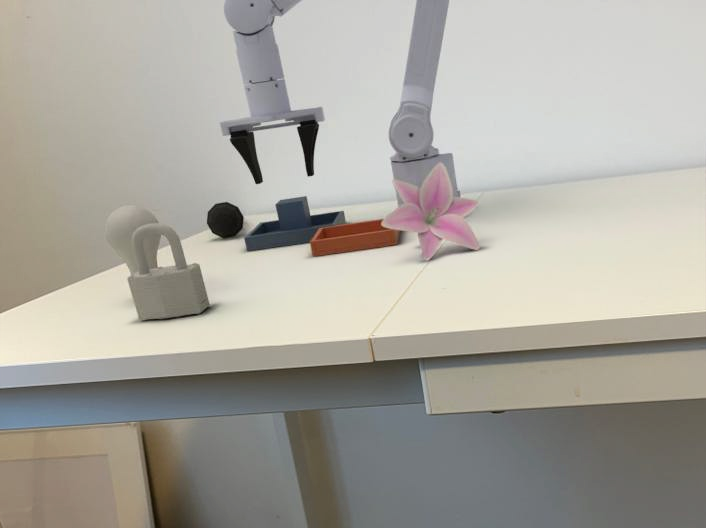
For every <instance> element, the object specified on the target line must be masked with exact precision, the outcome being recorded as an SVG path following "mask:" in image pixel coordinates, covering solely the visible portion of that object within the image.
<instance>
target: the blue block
mask: <svg viewBox="0 0 706 528" xmlns="http://www.w3.org/2000/svg"><path fill="white" fill-rule="evenodd" d="M308 201H309V200H308V197H307V195H303V196H298V197H292V198H285V199H279V200H278V201H277V202H276V203H275V204H274V205H275V210H276V214H277V218H278V219H277V220H279V224H280V228H281V232H282V231H289V230H296V229H303V228H310V227H313V225H312V220H311V216H310V215H311V211H310V206H309V202H308Z"/></svg>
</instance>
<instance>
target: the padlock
mask: <svg viewBox="0 0 706 528" xmlns="http://www.w3.org/2000/svg"><path fill="white" fill-rule="evenodd" d="M150 234H161V236H164V237H165V238H166V239H167V242H168V244H169V245H170V250H171V253H172V257H173V261H174V264H175V265H168V266H158V268H155V269H149V266H148V263H147V259H146V256H145V252H144V249H143V238H144V237H145V236H147V235H150ZM131 244H132V250H133V254H134V257H135V260H136V264H137V267H138V272H136V273H134V274H133V275H131V274H130V275H129V276H127V283H128V286H129V290H130V293H131V297H132V300H133V304H134V307H135V311H136V315H137V316H138V317H137V318H138V320H140V321H146V320H157V319H158V320H164V319H169V318H170V319H171V318H181V317H182V316H189V315H194V314H195V315H200V314H201V313H203V311H204V310H206V309H207V308H208V307H209V306H210V305H211V304H210V300H209V296H208V292H207V288H206V284H205V280H204V276H203V272H202V269H201V265H200V263H196V262H193V263H192V264H191V263H190V264H187V260H186V256H185V252H184V248H183V245H182V242H181V239H180V238H179V235H178V233H177V232H176V230H174V229H173V228H172V227H171V226H169V225H167V224H165V223H160V222H159V223H152V224H146V225H143V226H141V227H139V228H137V229H136V231H135V232H134V233H133V235H132V239H131Z"/></svg>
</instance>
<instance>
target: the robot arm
mask: <svg viewBox="0 0 706 528" xmlns="http://www.w3.org/2000/svg"><path fill="white" fill-rule="evenodd" d="M302 1H303V0H224V6H223V14H224V17H225V20H226V22H227V23H228V25H229V26H230V27H231V28H232V29H233V31H232V34H233V41H234V44H235V47H236V51H235V53H236V56H237V60H238V66H239V70H240V74H241V79H242V83H243V87H244V93H245V96H246V100H247V105H248V109H249V113H250V116H249V117H248V116H247V117H242V118H236V119H235V118H234V119H229V120H222V121H220V122H219V125H220V126H219V127H220V129H221V130H220V131H221V134H222V137H227V136H230V138H229V141H230V143H231V146H233V148H234V149H235V150H236V151H237V152H238V154H239V155H240V157H241V158H242V159H243V161H244V163H245V165H246V166H247V168H248V170H249V172H250V174H251V176H252V178H253V180H254V181H253V182H254V184H255V185H260V184H262V183H264V180H263V174H262V170H261V167H260V163H259V159H258V154H257V148H256V142H255V134H254V132H257V131H263V130H272V129H277V128H285V127H291V126H296V129H297V133H298V137H299V142H300V144H301V149H302V152H303V158H304V165H305V171H306V175H307V177H313V176H315V150H316V143H317V138H318V133H319V129H320V124H319V123H321V122H325V121H326V119H325V113H324V108H323V106H319V107H318V106H316V107H309V108H302V109H295V110H292V108H291V104H290V99H289V94H288V89H287V85H286V79H285V73H284V70H283V64H282V60H281V56H280V50H279V45H278V44H277V42H276V36H275V31H274V28H273V26H274V23H275V19H276V17H280V18H281V17H283V16H284V15H285V14H287V13H288V12H289V11H291V10H292V9H293V8H294V7H295V6H297V5H299V3H301V2H302ZM449 4H450V0H416V3H415V8H414V16H413V22H412V28H411V34H410V39H409V40H410V41H409V46H408V52H407V59H406V65H405V72H404V78H403V84H402V91H401V97H400V102H399V107H398V110H397V112H396V113H395V114H394V116H393V117H392V119H391V121H390V124H389V128H388V141H389V143H390V145H391V147H392V149H393V150H394V151H395V153H394V154H393V155H392V156H390V157H389V159H390V165H391V172H392V177H393V180H400V181H403V182H406V183H409V184H412V185H414V186H416V187H418V188H420V189H421V186H422V184H423V182H424V181H425V179H426V178H427V176H428V175H429V173H430V172H431V170H432V169H433V168H434V167H435V166H436V165H437V164H438V163H443V164H444V166H445V167H446V169H447V172H448V175H449V178H450V181H451V185H452V189H453V197H461V198H462V195H461V190H458V185H457V184H458V183H457V176H456V170H455V162H454V156H453V153H452V152H448V153H447V152H446V153H440V151H439V148H437V147H434V146H433V145H432V144H433V142H434V136H435V135H434V128H433V125H432V122H431V115H432V108H433V102H434V101H433V99H434V92H435V86H436V80H437V75H438V70H439V69H438V68H439V63H440V57H441V53H442V52H441V51H442V46H443V39H444V35H445V34H444V33H445V28H446V23H447V17H448V11H449V6H450V5H449ZM282 120H284V121H285V122H281V123H275V124H267V125H262V123H263V124H264V123H269V122H270V123H271V122H276V121H282ZM298 125H299V126H298ZM394 189H395V195H396V201H397V208H398V207H399V206H401V205H402V204H405V203H404V202H403V200H402V199H401V197H400V195H399V194H398V192H397V190H396V188H395V187H394Z"/></svg>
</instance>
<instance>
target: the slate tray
mask: <svg viewBox="0 0 706 528" xmlns="http://www.w3.org/2000/svg"><path fill="white" fill-rule="evenodd" d="M310 216H311V220H312V225H313V227H310V228H303V229H296V230H289V231H282V232H281V228H280V224H279V219H275V220H269V221H262V222H260V223H258V224H257V225H256V226H255V227H254V228H253V229H252V230H250V231H249V233H247V234H246V235H245V236H244V237H243V239H244V243H245V248H246V251H247V252H251V251H257V250H258V251H259V250H267V249H272V248H279V247H286V246H294V245H300V244H307V243H308V244H309V243H310V241H311V240H312V238H313V237H314V235H315V234H316V232H317V231H318V229H319V228H322V227H323V228H324V227H329V226H336V225H343V224H347V221H346V214H345V211H344V210H339V211H332V212H331V211H330V212H325V213H324V212H323V213H318V214H317V213H316V214H310Z"/></svg>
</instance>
